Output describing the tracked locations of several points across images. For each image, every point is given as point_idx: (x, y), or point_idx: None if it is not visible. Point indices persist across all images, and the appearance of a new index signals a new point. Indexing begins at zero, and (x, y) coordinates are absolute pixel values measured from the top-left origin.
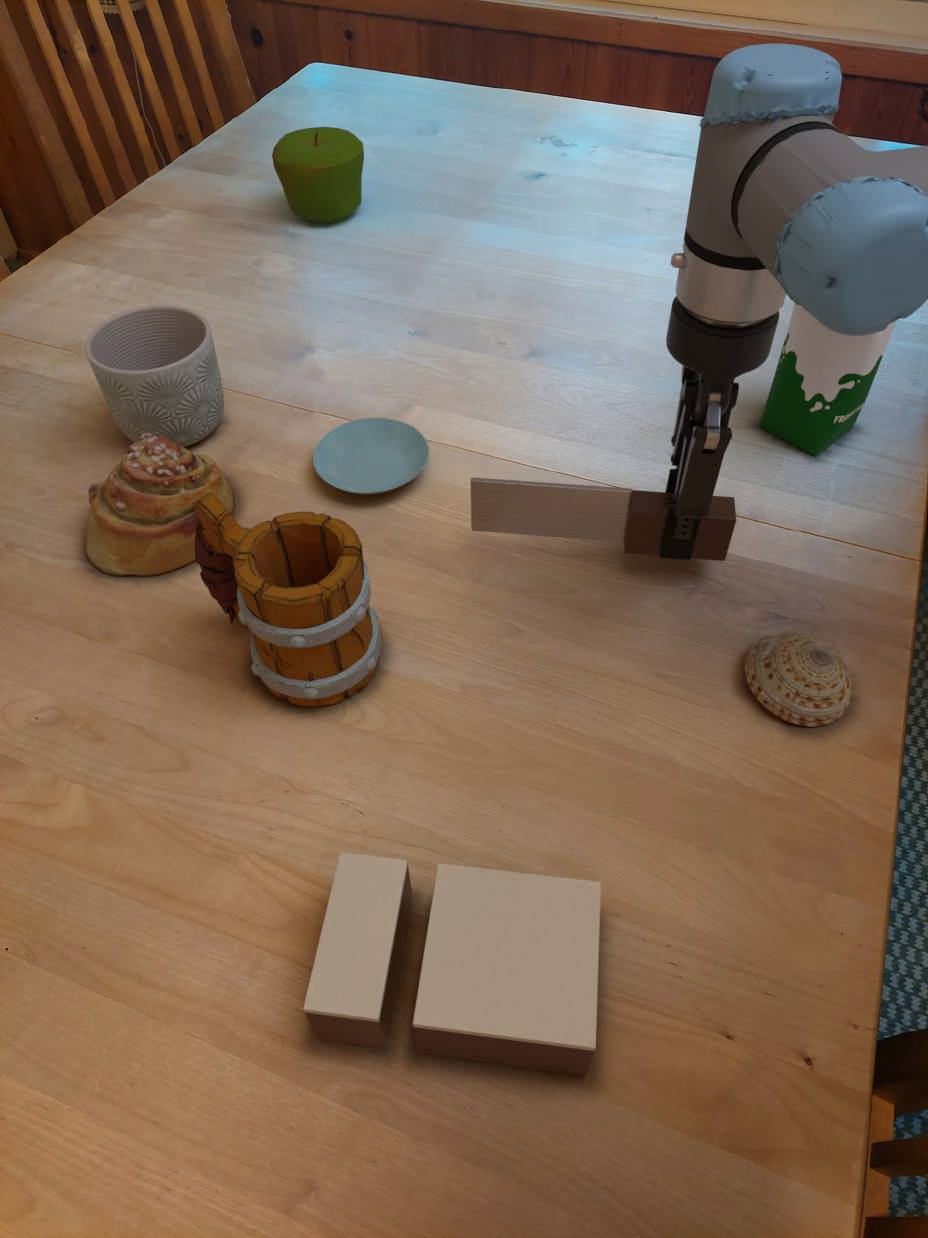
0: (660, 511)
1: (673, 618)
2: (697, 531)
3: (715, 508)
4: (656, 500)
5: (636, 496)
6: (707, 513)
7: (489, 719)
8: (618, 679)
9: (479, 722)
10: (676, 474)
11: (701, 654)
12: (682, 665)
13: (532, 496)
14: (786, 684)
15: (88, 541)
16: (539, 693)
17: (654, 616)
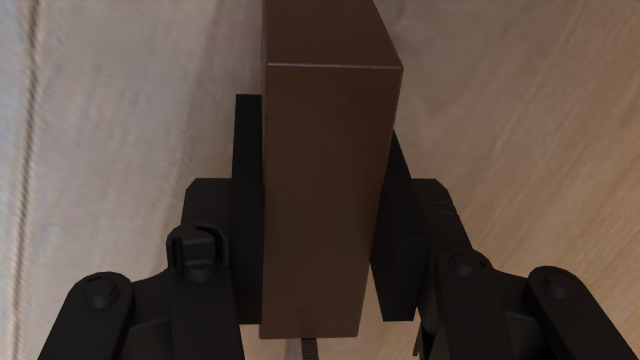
0: (354, 277)
1: (477, 86)
2: (404, 161)
3: (338, 133)
4: (305, 287)
5: (289, 328)
6: (594, 300)
7: (636, 339)
8: (614, 188)
9: (637, 348)
10: (260, 307)
11: (594, 31)
12: (614, 74)
13: None
14: None
15: None
16: (609, 291)
17: (466, 125)
